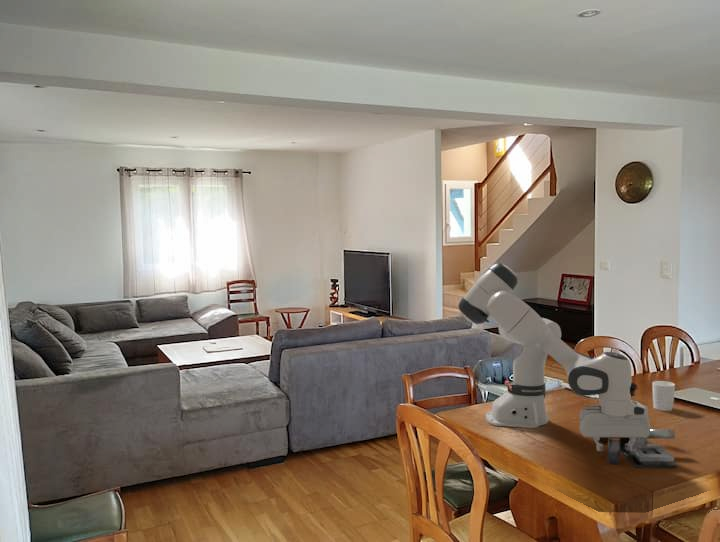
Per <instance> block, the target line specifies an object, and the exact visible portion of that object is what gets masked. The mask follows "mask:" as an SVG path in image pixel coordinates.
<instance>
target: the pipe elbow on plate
mask: <svg viewBox="0 0 720 542" xmlns="http://www.w3.org/2000/svg"><path fill="white" fill-rule="evenodd" d="M642 405H643V404H642ZM643 406H645V407H646V408H647V409H648V410H649V407H648V406H647V405H643ZM647 416H648V417H649V413H648V414H647ZM675 434H676V433H675V430H674V429H667V428H666V429H663V428H660V429H658V428H657V429H654V428H653V429H652V428H650V435H649V436H648V437H647V438H640V437H636V442H635V443H634V444H633V446H632V451H626V450H625V445H620V454H622V455H623V457H624V458H626V459H627V460H628V462H630V463H631V464H632V465H633V466H634V467H635V468H637V469H638V468H639V469H640V468H641V469H643V468H644V469H645V468H647V469H649V468H650V469H651V468H653V469H654V468H656V469H657V468H658V469H660V468H662V469H664V468H665V469H667V468H668V469H678V464H676V463H675V462H674V461H675V457H674V456H673V455H672V454H671V453H670V452H669V451H667V450H666V449H665V448H664V447H662V446H661V445H660V444H659V443H648V439H653V440H654V439H661V440H662V439H664V440H665V439H670V440H671V439H675V437H676V436H675Z"/></svg>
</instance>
